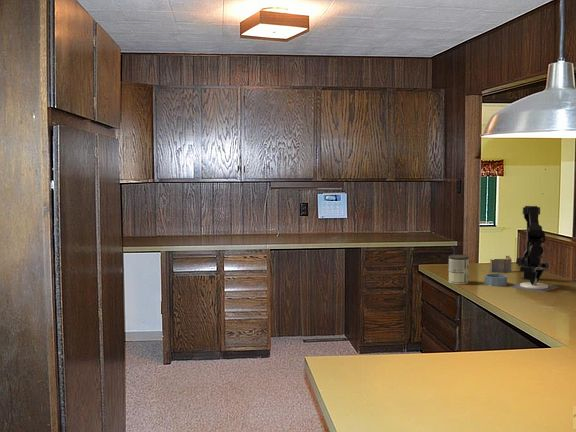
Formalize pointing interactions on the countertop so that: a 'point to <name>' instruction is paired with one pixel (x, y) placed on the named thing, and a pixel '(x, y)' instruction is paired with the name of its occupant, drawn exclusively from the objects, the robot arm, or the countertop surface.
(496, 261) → the architectural model on board
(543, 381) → the countertop surface
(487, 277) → the bowl
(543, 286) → the lid
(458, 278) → the coffee can
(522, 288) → the mat
